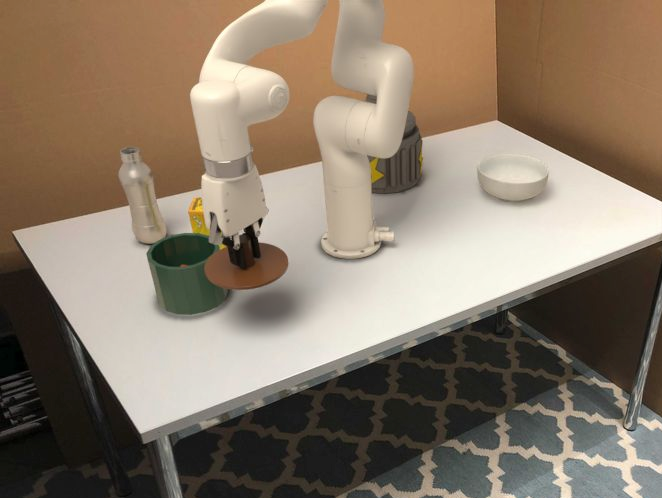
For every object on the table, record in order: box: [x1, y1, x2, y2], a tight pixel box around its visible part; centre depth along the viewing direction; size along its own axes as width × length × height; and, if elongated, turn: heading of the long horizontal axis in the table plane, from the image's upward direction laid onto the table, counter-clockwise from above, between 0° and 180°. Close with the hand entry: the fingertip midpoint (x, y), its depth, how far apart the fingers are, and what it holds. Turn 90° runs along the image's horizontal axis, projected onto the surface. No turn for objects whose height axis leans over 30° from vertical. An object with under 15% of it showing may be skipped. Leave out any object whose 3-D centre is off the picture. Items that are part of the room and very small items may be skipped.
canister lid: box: [204, 234, 290, 291], centre depth 132 cm, size 14×14×6 cm
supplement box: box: [187, 196, 227, 250], centre depth 156 cm, size 6×6×11 cm
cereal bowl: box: [476, 153, 550, 203], centre depth 183 cm, size 17×17×7 cm
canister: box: [146, 232, 229, 316], centre depth 143 cm, size 13×13×10 cm
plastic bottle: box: [117, 146, 167, 245], centre depth 156 cm, size 6×7×20 cm
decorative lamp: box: [364, 94, 424, 194], centre depth 180 cm, size 19×19×30 cm
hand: (245, 259), depth 132 cm, fingers closed on canister lid, 2 cm apart
